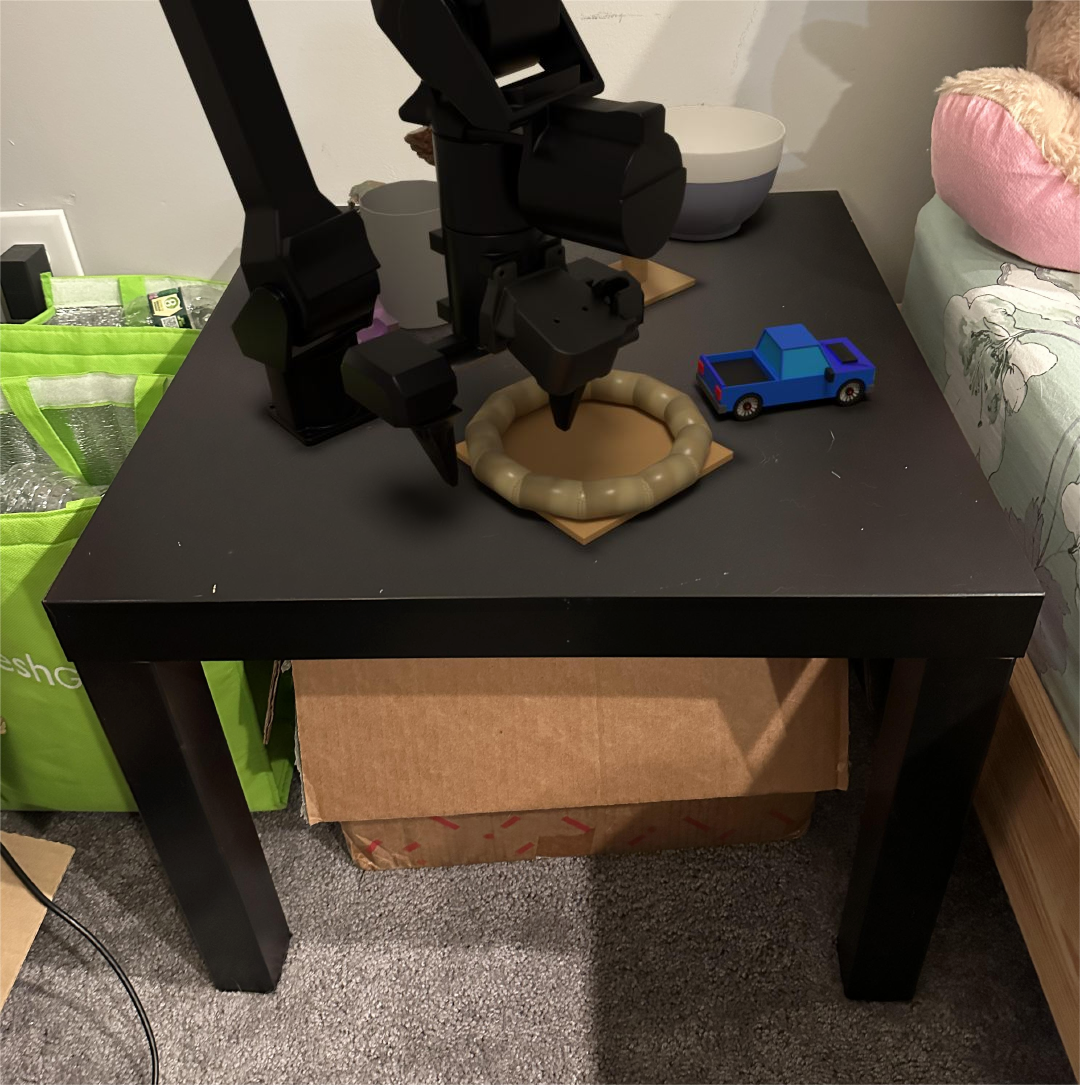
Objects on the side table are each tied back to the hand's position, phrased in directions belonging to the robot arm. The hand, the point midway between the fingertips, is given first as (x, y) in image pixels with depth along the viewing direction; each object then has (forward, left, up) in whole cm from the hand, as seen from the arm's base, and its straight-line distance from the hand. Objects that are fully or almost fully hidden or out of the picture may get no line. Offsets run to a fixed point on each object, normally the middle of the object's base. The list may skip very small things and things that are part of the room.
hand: (508, 455), depth 61 cm
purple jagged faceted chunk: (+4, +26, -4) cm, 27 cm away
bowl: (+44, +24, -4) cm, 50 cm away
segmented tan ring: (+7, 0, -2) cm, 7 cm away
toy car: (+23, -4, -4) cm, 24 cm away
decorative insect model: (+20, +47, -4) cm, 51 cm away
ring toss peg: (+29, +18, -3) cm, 34 cm away
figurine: (+22, +35, -4) cm, 42 cm away
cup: (+12, +28, -4) cm, 31 cm away
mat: (+7, 0, -3) cm, 8 cm away
